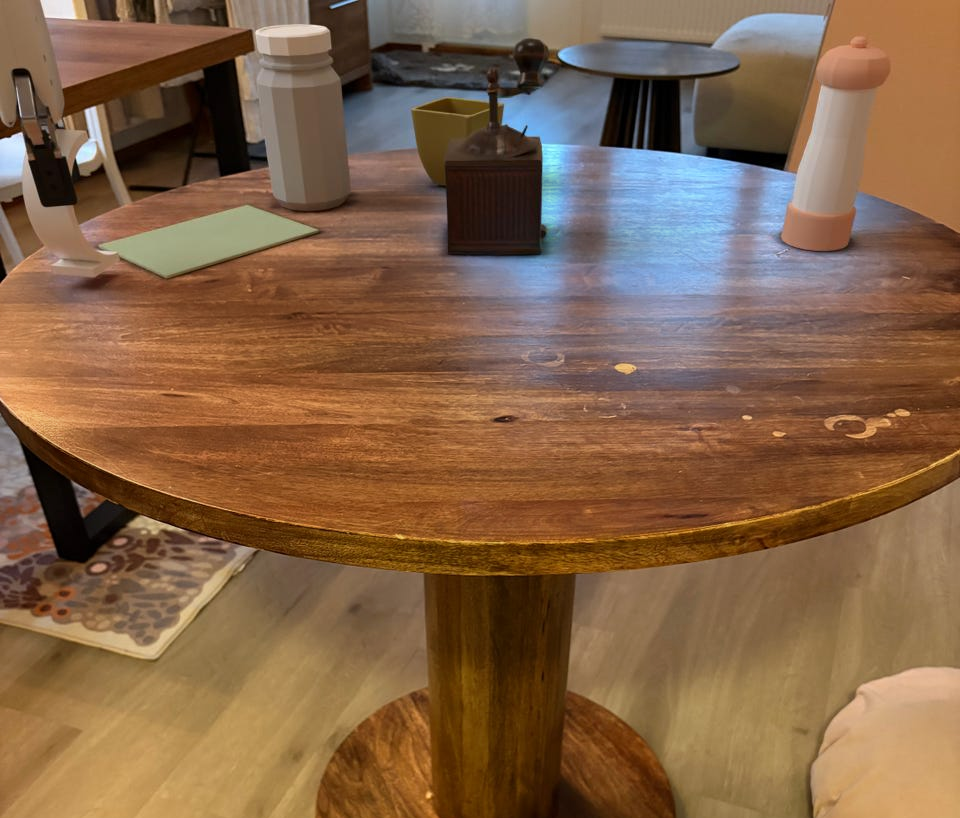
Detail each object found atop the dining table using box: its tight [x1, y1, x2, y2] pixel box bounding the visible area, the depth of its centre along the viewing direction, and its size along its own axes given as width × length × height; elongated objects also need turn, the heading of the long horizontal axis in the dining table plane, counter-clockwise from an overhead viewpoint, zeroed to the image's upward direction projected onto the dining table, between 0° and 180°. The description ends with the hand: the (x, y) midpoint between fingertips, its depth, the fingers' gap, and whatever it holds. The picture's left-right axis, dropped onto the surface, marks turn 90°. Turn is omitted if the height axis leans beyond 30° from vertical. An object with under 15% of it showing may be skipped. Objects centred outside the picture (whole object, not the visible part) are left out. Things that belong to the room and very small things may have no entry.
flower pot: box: [410, 96, 505, 187], centre depth 117 cm, size 9×9×9 cm
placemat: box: [97, 204, 320, 279], centre depth 103 cm, size 20×14×1 cm
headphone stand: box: [21, 129, 121, 278], centre depth 89 cm, size 5×6×12 cm
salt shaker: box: [780, 35, 891, 252], centre depth 96 cm, size 7×7×19 cm
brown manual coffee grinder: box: [445, 37, 550, 255], centre depth 99 cm, size 16×11×18 cm
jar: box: [254, 23, 352, 212], centre depth 108 cm, size 10×10×18 cm
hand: (62, 191), depth 88 cm, fingers closed on headphone stand, 7 cm apart
